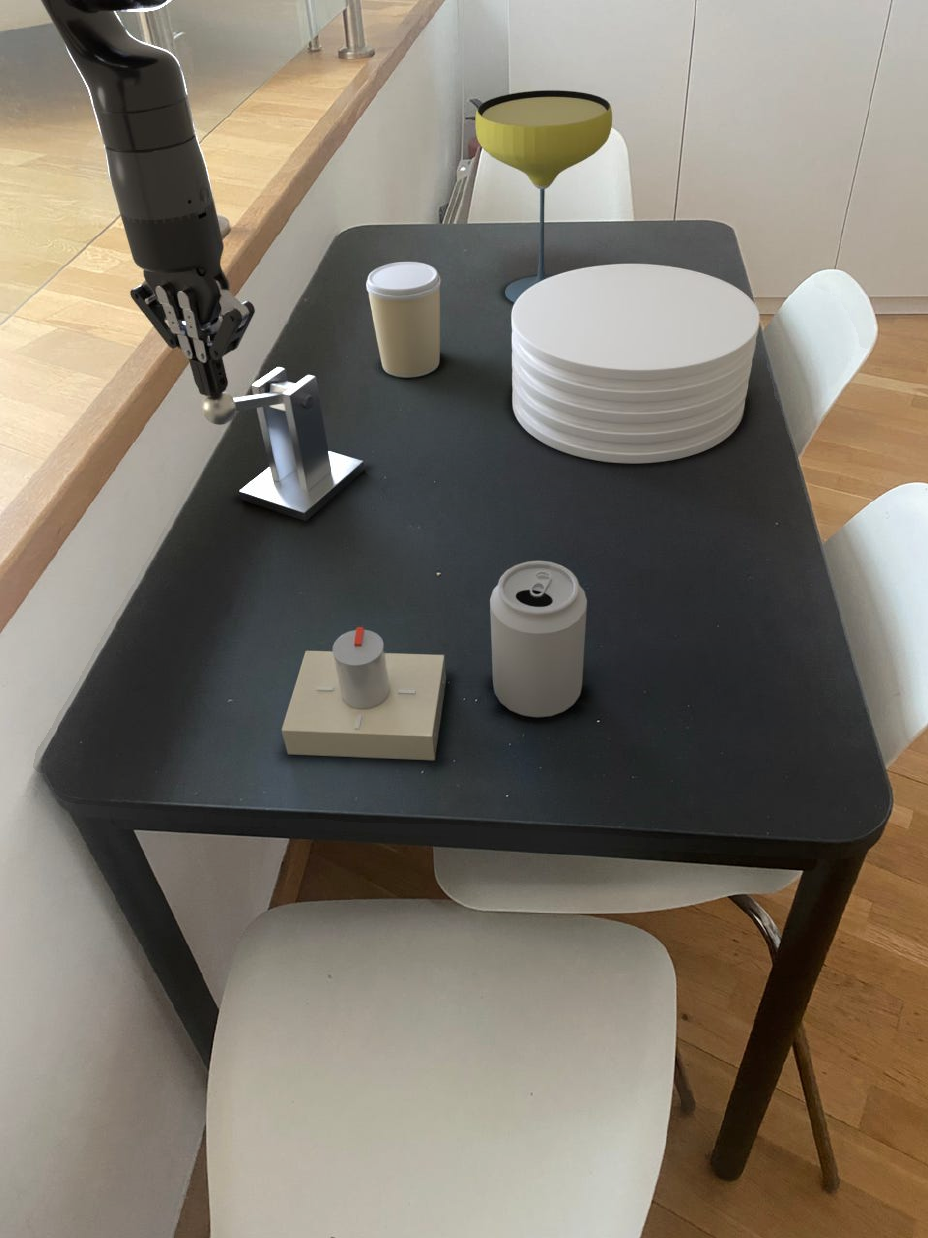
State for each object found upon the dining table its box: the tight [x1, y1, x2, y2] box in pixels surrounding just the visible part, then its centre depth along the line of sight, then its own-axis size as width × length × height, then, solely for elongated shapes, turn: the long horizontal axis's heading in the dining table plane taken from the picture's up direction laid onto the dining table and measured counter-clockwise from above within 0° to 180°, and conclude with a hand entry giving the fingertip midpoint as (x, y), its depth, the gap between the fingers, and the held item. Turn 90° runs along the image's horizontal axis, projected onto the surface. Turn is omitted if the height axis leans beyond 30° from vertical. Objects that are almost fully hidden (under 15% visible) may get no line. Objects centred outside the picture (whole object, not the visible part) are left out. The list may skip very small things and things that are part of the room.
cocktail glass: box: [474, 89, 613, 304], centre depth 129 cm, size 18×18×25 cm
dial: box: [332, 626, 390, 709], centre depth 73 cm, size 4×4×5 cm
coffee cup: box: [365, 261, 441, 378], centre depth 119 cm, size 9×9×12 cm
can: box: [489, 560, 588, 718], centre depth 74 cm, size 8×8×12 cm
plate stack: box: [510, 263, 761, 464], centre depth 109 cm, size 28×28×12 cm
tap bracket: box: [238, 366, 365, 522], centre depth 99 cm, size 11×9×13 cm
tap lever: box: [201, 381, 296, 426], centre depth 91 cm, size 13×3×3 cm, turn 150°
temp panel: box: [281, 650, 447, 761], centre depth 76 cm, size 12×9×3 cm
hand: (214, 392), depth 86 cm, fingers closed
